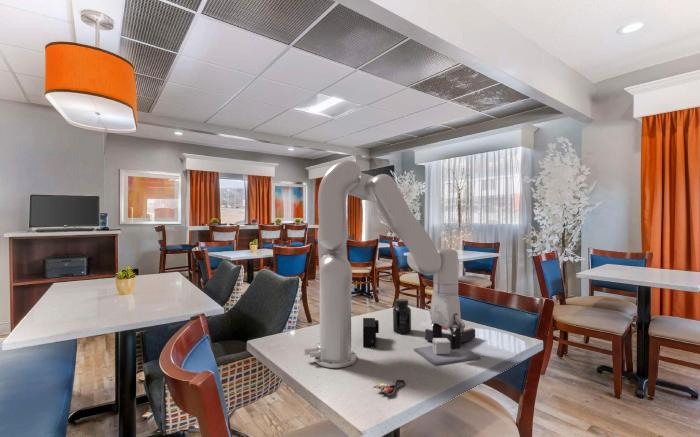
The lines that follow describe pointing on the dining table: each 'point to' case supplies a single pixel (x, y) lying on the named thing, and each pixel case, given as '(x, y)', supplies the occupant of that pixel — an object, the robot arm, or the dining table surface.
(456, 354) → the desk pad
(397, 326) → the supplement bottle
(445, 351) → the usb wall charger
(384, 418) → the dining table surface
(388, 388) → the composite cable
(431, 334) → the grey product box
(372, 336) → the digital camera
